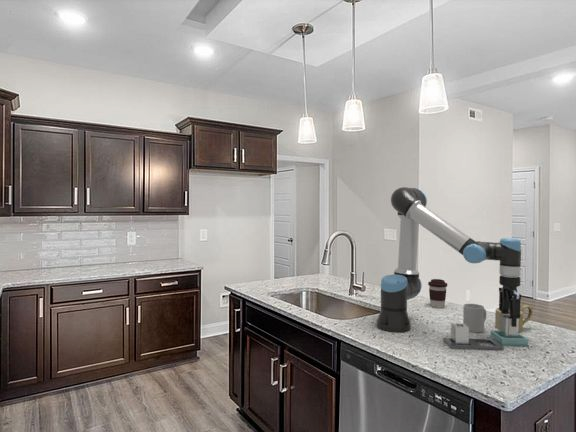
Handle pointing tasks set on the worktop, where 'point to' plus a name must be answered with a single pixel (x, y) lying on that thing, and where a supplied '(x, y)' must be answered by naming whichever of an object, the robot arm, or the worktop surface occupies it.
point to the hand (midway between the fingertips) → (508, 331)
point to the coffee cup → (437, 293)
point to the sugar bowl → (521, 322)
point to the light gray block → (459, 334)
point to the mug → (474, 317)
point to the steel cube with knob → (507, 327)
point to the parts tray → (508, 339)
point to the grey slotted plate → (475, 344)
